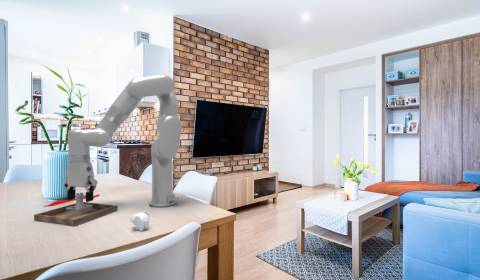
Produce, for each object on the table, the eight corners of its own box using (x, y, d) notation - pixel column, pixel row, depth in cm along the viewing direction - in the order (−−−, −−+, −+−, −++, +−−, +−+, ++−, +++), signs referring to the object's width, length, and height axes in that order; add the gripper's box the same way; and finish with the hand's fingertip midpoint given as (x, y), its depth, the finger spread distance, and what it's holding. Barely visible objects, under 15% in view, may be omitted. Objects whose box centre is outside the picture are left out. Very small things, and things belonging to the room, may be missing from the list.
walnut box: (117, 212, 110) (117, 205, 110) (74, 228, 90) (74, 220, 90) (81, 208, 115) (81, 201, 115) (34, 222, 96) (34, 214, 96)
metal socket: (92, 210, 109) (92, 205, 109) (78, 215, 102) (78, 209, 102) (80, 209, 111) (80, 203, 111) (65, 214, 104) (65, 208, 104)
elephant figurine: (141, 224, 96) (141, 208, 95) (156, 228, 92) (156, 211, 91) (124, 229, 90) (124, 213, 90) (140, 234, 86) (140, 216, 86)
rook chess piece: (77, 210, 109) (76, 192, 109) (88, 210, 109) (87, 191, 109) (71, 214, 104) (70, 194, 104) (82, 213, 105) (82, 194, 105)
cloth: (44, 210, 114) (44, 205, 114) (39, 204, 123) (39, 200, 123) (107, 200, 132) (107, 196, 132) (98, 196, 142) (98, 191, 142)
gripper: (103, 158, 107) (104, 199, 108) (71, 158, 113) (72, 196, 113) (87, 160, 100) (89, 204, 101) (55, 159, 105) (56, 201, 106)
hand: (80, 200), depth 107 cm, fingers open, 9 cm apart
